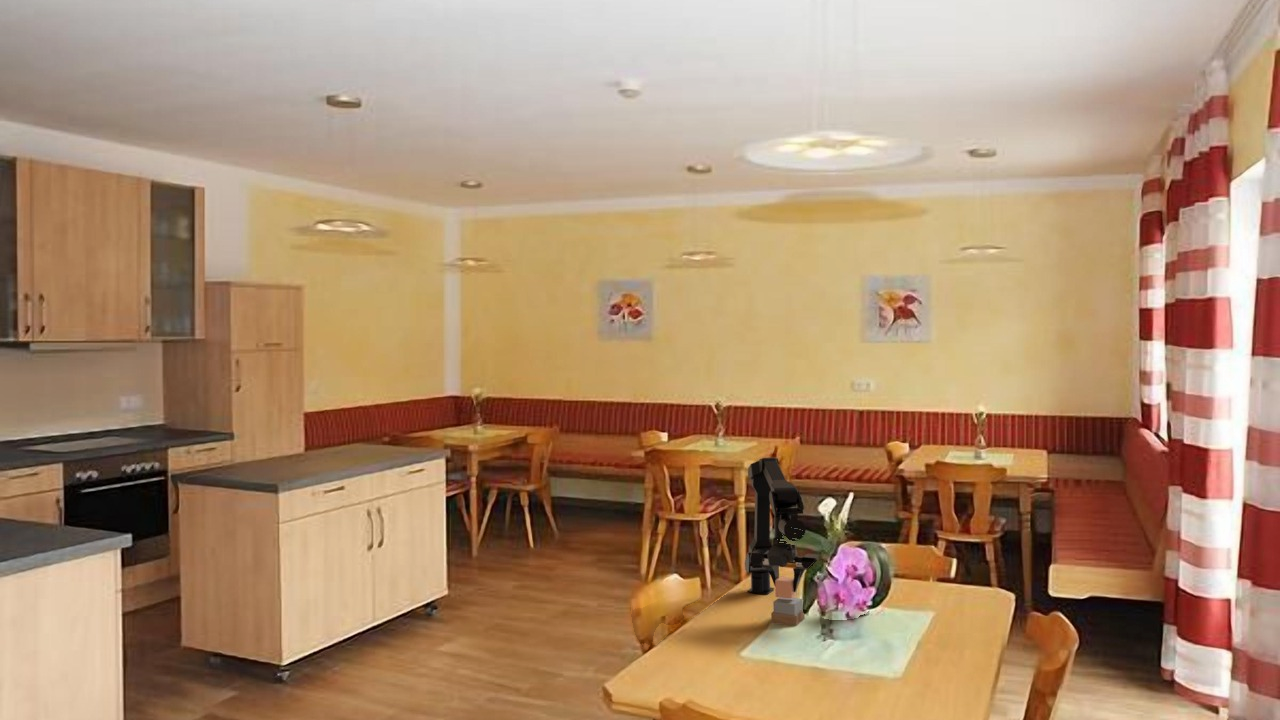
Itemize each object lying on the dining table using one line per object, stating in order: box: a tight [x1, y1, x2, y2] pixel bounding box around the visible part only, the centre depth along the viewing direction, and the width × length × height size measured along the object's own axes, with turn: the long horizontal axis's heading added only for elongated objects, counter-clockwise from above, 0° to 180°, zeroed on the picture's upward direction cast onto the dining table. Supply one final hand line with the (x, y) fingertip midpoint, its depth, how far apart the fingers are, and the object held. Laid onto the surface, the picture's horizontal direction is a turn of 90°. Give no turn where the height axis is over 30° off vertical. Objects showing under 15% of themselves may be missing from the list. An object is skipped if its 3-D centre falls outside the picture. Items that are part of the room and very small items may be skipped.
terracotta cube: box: [774, 576, 798, 599], centre depth 264 cm, size 4×4×4 cm
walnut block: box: [770, 610, 806, 627], centre depth 265 cm, size 7×7×3 cm
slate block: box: [772, 597, 804, 615], centre depth 265 cm, size 6×6×3 cm
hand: (786, 590), depth 264 cm, fingers open, 5 cm apart
